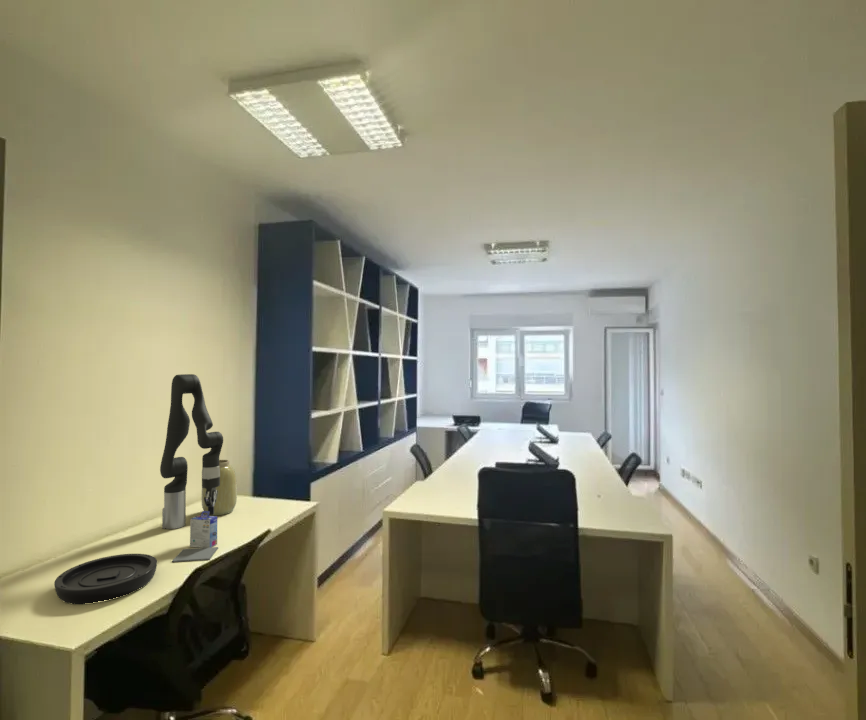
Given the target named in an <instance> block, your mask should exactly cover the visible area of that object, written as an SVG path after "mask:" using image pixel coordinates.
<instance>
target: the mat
mask: <svg viewBox="0 0 866 720" xmlns="http://www.w3.org/2000/svg"><path fill="white" fill-rule="evenodd" d="M218 549H219V546H213V547H209V548H200V547H192V548H183V549H181V551H180V552H179V553H178V554H176V556H175V557H174V558H173V559H172V560H171V562H172V563H179V562H180V563H182V562H195V561H197V562H198V561H210V560H211V559H212V557H213V556H214V554H215V553H216V552H217V551H218Z"/></svg>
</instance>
